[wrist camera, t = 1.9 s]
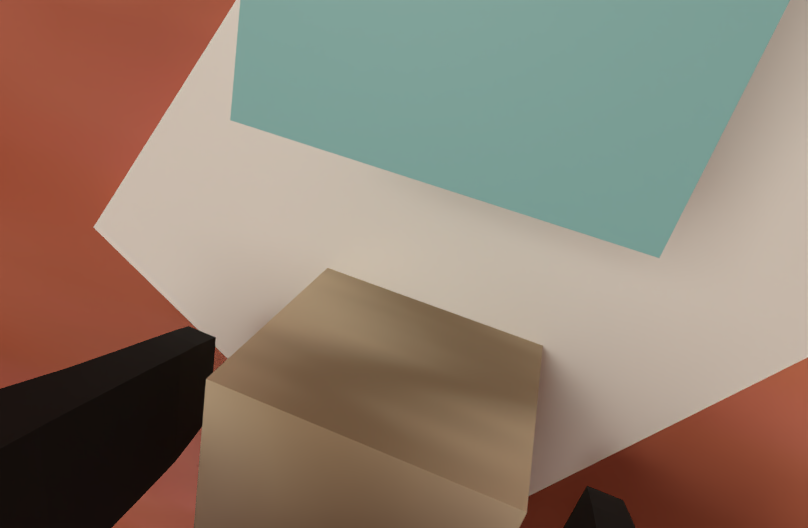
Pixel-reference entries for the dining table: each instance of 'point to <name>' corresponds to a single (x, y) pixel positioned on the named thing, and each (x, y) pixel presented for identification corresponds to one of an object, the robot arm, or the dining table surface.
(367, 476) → the maple block
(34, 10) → the dining table surface
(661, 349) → the plate
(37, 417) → the robot arm
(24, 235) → the dining table surface
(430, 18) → the teal block
